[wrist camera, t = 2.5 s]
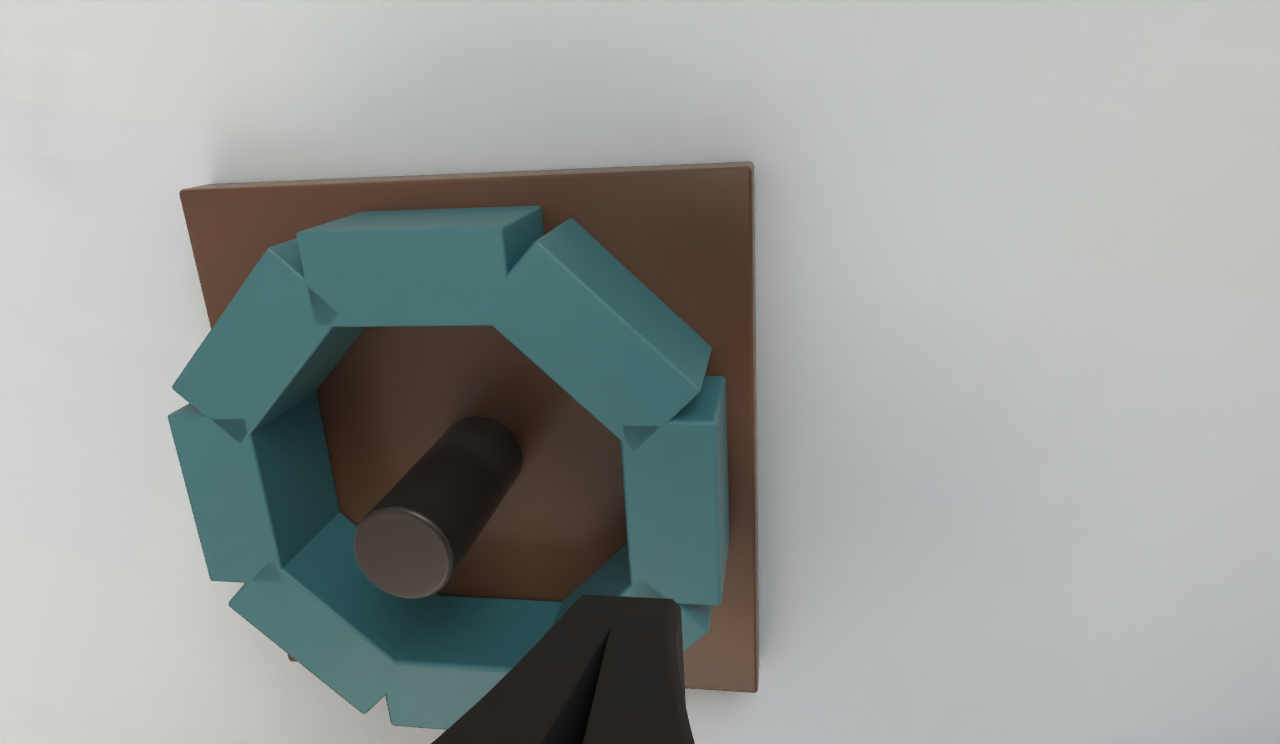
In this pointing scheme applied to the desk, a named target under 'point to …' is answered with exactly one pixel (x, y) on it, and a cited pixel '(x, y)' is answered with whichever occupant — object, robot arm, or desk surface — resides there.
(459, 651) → the hoop
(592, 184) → the peg stand
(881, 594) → the desk surface
